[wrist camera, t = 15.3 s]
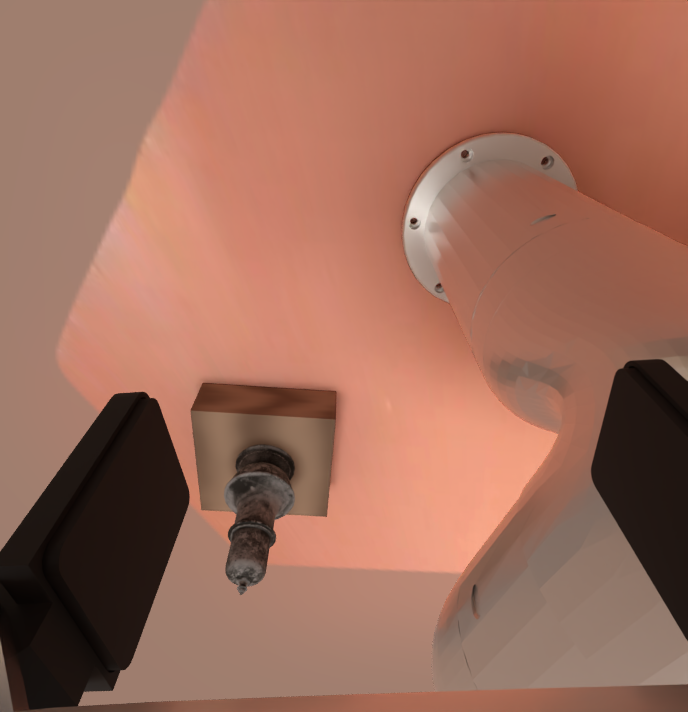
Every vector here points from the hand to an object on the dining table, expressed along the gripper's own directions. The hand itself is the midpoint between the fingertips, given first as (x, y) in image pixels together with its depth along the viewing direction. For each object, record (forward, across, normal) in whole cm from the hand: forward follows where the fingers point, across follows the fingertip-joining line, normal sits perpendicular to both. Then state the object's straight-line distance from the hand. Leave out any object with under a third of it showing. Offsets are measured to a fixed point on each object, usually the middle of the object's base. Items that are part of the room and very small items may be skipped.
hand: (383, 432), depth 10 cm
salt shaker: (+24, +10, +23) cm, 34 cm away
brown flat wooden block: (+27, +10, +23) cm, 37 cm away
